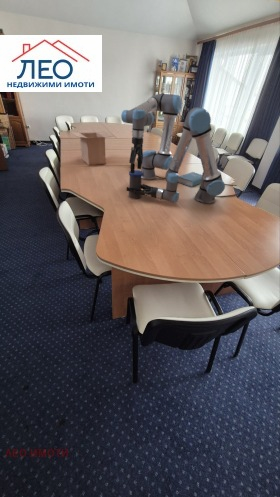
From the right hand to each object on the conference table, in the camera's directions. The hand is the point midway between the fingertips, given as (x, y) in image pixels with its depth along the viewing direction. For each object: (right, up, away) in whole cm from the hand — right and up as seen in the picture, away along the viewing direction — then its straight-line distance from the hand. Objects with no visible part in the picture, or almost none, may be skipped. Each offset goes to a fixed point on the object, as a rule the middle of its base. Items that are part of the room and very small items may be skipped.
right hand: (129, 186), depth 167 cm
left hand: (+5, +9, -9) cm, 14 cm away
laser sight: (+15, +46, +75) cm, 89 cm away
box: (-42, +47, +70) cm, 94 cm away
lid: (+5, +8, -8) cm, 12 cm away
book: (+55, +14, +36) cm, 68 cm away
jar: (+4, -6, +2) cm, 8 cm away
